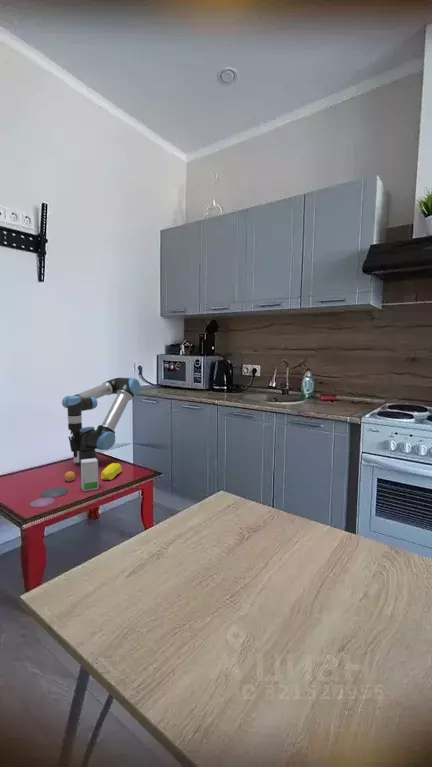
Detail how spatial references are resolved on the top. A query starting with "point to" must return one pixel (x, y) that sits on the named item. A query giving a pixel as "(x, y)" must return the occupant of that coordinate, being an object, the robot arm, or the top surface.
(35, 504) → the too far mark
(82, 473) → the skincare box
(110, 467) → the yellow elongated piece
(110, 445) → the robot arm
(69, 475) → the ball
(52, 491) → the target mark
